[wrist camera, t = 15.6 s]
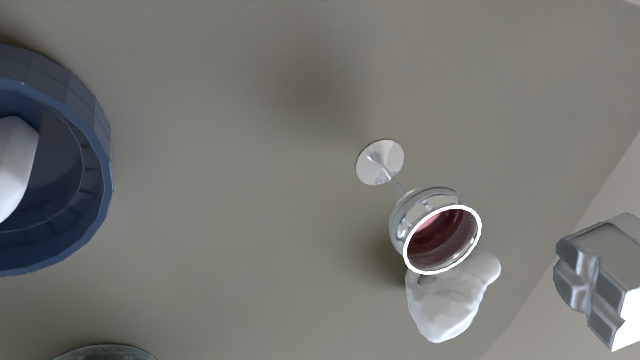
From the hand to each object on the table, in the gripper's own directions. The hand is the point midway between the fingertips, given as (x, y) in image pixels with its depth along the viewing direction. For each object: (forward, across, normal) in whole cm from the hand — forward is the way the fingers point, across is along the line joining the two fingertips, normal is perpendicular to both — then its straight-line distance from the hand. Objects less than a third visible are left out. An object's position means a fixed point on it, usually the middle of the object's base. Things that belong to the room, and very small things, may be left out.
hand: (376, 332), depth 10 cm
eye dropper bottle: (+32, +17, +8) cm, 37 cm away
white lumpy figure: (+32, -17, +39) cm, 53 cm away
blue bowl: (+32, +17, +8) cm, 37 cm away
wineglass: (+32, -11, +22) cm, 41 cm away
